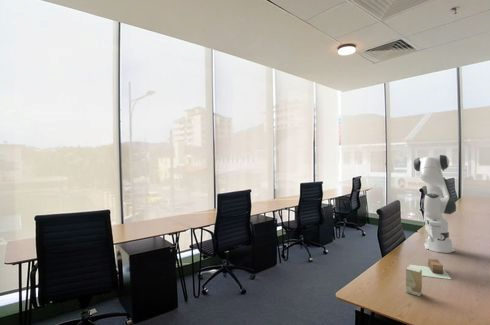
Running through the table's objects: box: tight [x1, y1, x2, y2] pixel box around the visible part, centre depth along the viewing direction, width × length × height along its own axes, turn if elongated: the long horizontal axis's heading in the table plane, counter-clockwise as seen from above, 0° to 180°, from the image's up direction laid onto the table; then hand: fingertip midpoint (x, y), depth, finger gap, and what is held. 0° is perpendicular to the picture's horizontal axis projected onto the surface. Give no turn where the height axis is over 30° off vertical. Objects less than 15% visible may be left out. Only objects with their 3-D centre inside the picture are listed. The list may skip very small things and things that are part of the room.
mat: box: [408, 264, 452, 280], centre depth 157 cm, size 16×18×1 cm
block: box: [427, 258, 444, 274], centre depth 158 cm, size 5×5×11 cm
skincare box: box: [405, 265, 423, 297], centre depth 132 cm, size 6×4×12 cm
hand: (431, 241), depth 164 cm, fingers closed
